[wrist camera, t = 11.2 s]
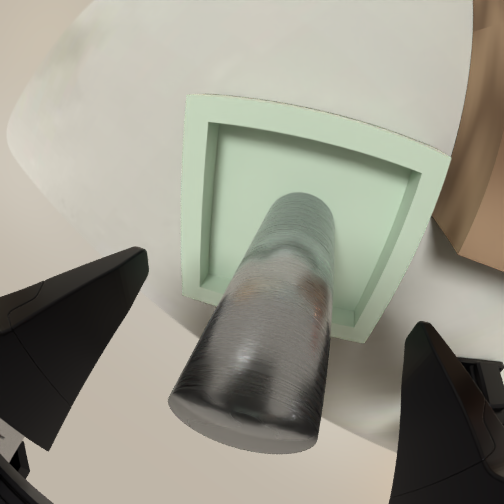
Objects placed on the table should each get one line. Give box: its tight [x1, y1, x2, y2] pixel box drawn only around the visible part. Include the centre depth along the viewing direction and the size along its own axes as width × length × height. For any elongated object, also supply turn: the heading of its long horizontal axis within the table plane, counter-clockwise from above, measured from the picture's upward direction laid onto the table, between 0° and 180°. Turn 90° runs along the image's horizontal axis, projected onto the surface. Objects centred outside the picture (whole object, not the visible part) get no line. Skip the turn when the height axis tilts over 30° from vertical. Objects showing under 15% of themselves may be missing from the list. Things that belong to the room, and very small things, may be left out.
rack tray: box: [181, 94, 451, 344], centre depth 12 cm, size 10×10×2 cm
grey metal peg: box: [168, 192, 335, 454], centre depth 8 cm, size 3×3×9 cm
